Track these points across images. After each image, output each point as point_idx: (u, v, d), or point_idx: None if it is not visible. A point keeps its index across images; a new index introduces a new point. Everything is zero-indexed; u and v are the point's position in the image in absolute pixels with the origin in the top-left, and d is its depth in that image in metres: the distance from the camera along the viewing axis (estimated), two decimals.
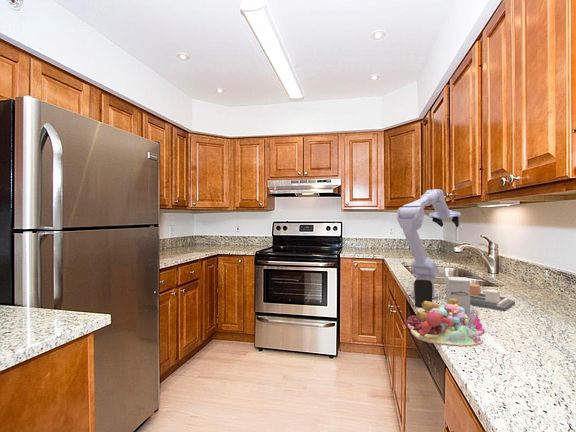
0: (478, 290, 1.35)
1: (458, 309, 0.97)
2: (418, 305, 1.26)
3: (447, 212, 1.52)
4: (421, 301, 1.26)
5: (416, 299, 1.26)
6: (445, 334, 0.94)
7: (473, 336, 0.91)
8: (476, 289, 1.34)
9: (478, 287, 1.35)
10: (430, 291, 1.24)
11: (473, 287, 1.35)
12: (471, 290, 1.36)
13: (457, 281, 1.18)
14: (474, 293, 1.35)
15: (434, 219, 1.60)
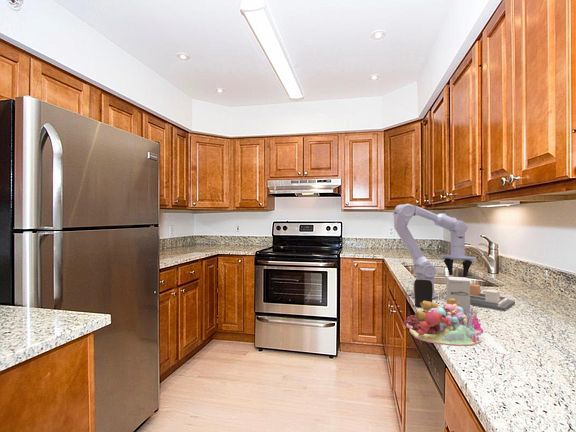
0: (478, 290, 1.35)
1: (457, 309, 0.98)
2: (418, 305, 1.26)
3: (462, 251, 1.39)
4: (421, 301, 1.26)
5: (416, 299, 1.26)
6: (444, 334, 0.95)
7: (472, 336, 0.91)
8: (476, 289, 1.34)
9: (478, 287, 1.35)
10: (430, 291, 1.24)
11: (473, 287, 1.35)
12: (471, 290, 1.36)
13: (457, 281, 1.18)
14: (474, 293, 1.35)
15: (446, 260, 1.44)
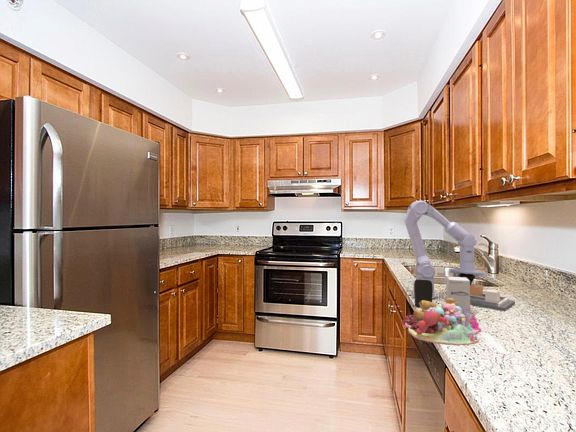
0: (480, 290, 1.34)
1: (455, 308, 0.98)
2: (418, 305, 1.26)
3: (472, 266, 1.36)
4: None
5: (416, 299, 1.26)
6: (442, 333, 0.95)
7: (469, 335, 0.92)
8: (478, 290, 1.34)
9: (480, 287, 1.34)
10: (430, 291, 1.24)
11: (475, 287, 1.35)
12: (473, 290, 1.35)
13: (457, 281, 1.18)
14: (476, 293, 1.34)
15: (462, 275, 1.39)
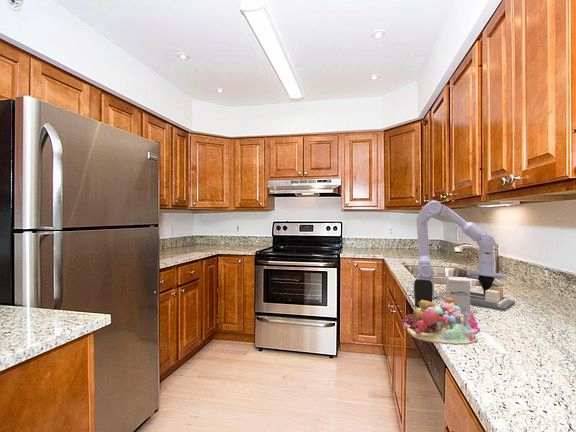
0: (501, 294, 1.29)
1: (454, 308, 0.99)
2: (418, 305, 1.26)
3: (492, 268, 1.31)
4: None
5: (416, 299, 1.26)
6: (441, 332, 0.96)
7: (468, 334, 0.92)
8: None
9: (501, 290, 1.29)
10: (430, 291, 1.24)
11: None
12: None
13: (457, 281, 1.18)
14: None
15: (481, 278, 1.33)
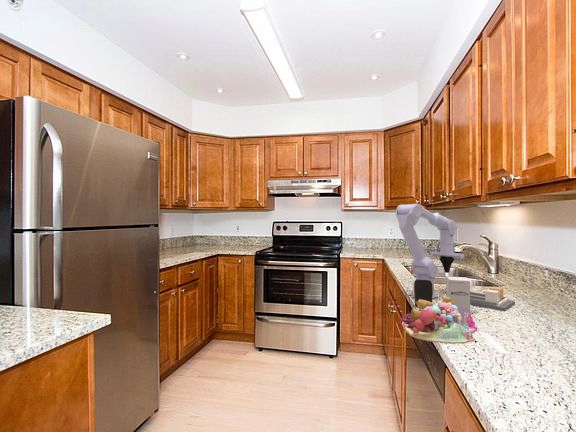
0: (501, 294, 1.29)
1: (451, 307, 0.99)
2: None
3: (451, 249, 1.46)
4: None
5: (416, 299, 1.26)
6: (438, 332, 0.96)
7: (465, 333, 0.93)
8: None
9: (501, 290, 1.29)
10: (430, 291, 1.24)
11: (496, 290, 1.29)
12: None
13: (457, 281, 1.18)
14: None
15: (442, 258, 1.48)
